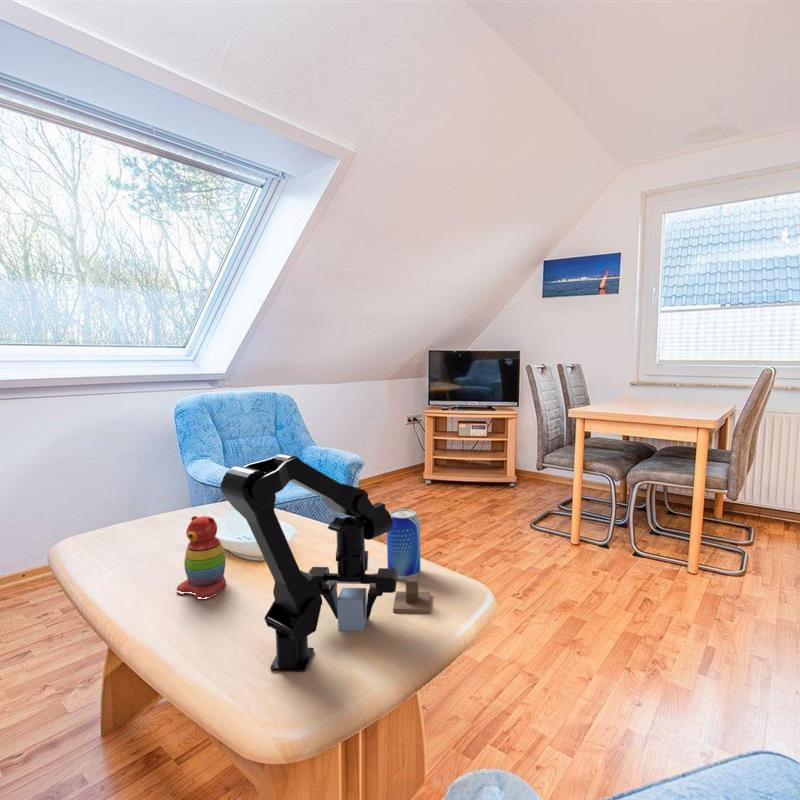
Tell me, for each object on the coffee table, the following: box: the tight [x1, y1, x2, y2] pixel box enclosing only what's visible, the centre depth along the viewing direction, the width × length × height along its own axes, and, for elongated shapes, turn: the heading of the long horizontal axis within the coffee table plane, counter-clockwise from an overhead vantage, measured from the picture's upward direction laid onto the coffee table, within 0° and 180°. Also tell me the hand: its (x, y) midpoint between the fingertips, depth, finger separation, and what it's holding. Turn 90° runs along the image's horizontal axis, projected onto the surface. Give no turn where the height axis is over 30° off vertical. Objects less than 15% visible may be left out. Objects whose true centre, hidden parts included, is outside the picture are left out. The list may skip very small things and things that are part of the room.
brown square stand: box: [392, 575, 431, 614], centre depth 112 cm, size 8×8×6 cm
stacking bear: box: [176, 515, 227, 598], centre depth 121 cm, size 11×10×18 cm
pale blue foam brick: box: [337, 587, 368, 632], centre depth 104 cm, size 5×5×7 cm
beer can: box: [386, 508, 421, 581], centre depth 127 cm, size 8×8×16 cm
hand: (352, 618), depth 104 cm, fingers open, 6 cm apart
